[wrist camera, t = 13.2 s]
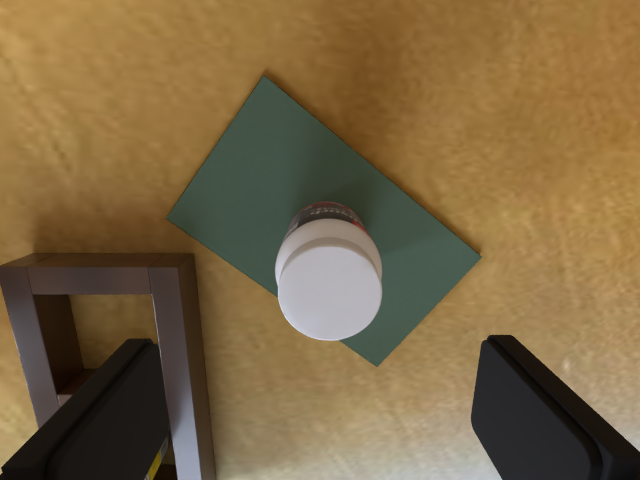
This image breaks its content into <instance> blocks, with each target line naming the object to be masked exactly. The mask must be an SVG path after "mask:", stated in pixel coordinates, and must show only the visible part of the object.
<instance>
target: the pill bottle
mask: <svg viewBox="0 0 640 480" xmlns="http://www.w3.org/2000/svg"><path fill="white" fill-rule="evenodd" d="M275 276H276V282H277V285H278V299H279V304H280V308H281V310H282V312H283V314H284V316H285V317H286V319H287V320H288V322H289V323H290V324H291V325H292V326H293V327H294V328H296V329H297V330H298V331H300V332H301V333H303V334H305V335H307V336H309V337H312V338H315V339H319V340H329V341H332V340H341V339H345V338H348V337H351V336H353V335H355V334H357V333H359V332H360V331H362V330H363V329H364V328H365V327H367V326H368V325H369V324H370V323H371V321H372V320H373V319H374V317H375V316H376V314H377V312H378V310H379V307H380V304H381V300H382V284H381V278H382V263H381V258H380V254H379V252H378V249H377V247H376V245H375V243H374V242H373V240H372V238H371V237H370V235H369V234H368V232H367V230H366V228H365V227H364V225H363V223H362V221H361V220H360V218H359V217H358V216H357V215H356V214H355V213H354V212H353V211H352V210H351V209H349V208H348V207H346V206H344V205H342V204H339V203H336V202H328V201H325V202H318V203H314V204H311V205H309V206H307V207H305V208H304V209H302V210H301V211H300V212H299V213H298V214H297V215H296V216H295V217H294V218H293V220H292V221H291V223H290V225H289V227H288V230H287V233H286V235H285V238H284V240H283V242H282V245H281V247H280V250H279V252H278V255H277V259H276V265H275Z"/></svg>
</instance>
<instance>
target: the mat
mask: <svg viewBox="0 0 640 480" xmlns="http://www.w3.org/2000/svg"><path fill="white" fill-rule="evenodd" d="M325 201H328V202H336V203H339V204H342V205H344V206H346V207H348V208H349V209H351V210H352V211H353V212H354V213H355V214H356V215H357V216H358V217H359V218H360V220H361V221H362V223H363V225H364V227H365V228H366V230H367V232H368V234H369V235H370V237H371V238H372V240H373V242H374V243H375V245H376V247H377V249H378V252H379V254H380V258H381V263H382V278H381V284H382V300H381V304H380V307H379V310H378V312H377V314H376V316H375V317H374V319H373V320H372V321H371V323H370V324H369V325H368V326H367V327H365V328H364V329H363V330H362V331H360V332H359V333H357V334H355V335H353V336H351V337H348V338H345V339H341V340H339V341H341V342H342V343H344V344H345V345H347V346H348V347H349V348H351V349H352V350H354V351H355V352H356V353H358V354H359V355H361V356H362V357H364V358H365V359H366V360H368V361H369V362H371V363H372V364H374V365H375V366H376V367H378V366H379V364H380V363H381V362H382V361H383V360H384V359H385V358H386V357H387V356H388V355H389V354H390V353H391V352H392V351H393V350H394V349H395V348H396V347H397V346H398V345H399V344H400V342H401V341H402V340H403V339H404V338H405V337H406V336H407V335H408V334H409V333H410V332H411V331H412V330H413V329H414V328H415V327H416V326H417V325H418V324H419V323H420V322H421V321H422V319H423V318H424V317H425V316H426V315H427V314H428V313H429V312H430V311H431V310H432V309H433V308H434V307H435V306H436V305H437V304H438V303H439V302H440V301H441V300H442V299H443V297H444V296H445V295H446V294H447V293H448V292H449V291H450V290H451V289H452V288H453V287H454V286H455V285H456V284H457V283H458V282H459V281H460V280H461V279H462V278H463V277H464V276H465V274H466V273H467V272H468V271H469V270H470V269H471V268H472V267H473V266H474V265H475V264H476V263H477V262H478V261H479V260H480V259H481V258H482V256H480V255H479V254H478V253H477V252H476V251H474V250H473V249H472V248H471V247H470V246H468V245H467V244H466V243H465V242H464V241H462V240H461V239H460V238H459V237H458V236H456V235H455V234H454V233H453V232H452V231H450V230H449V229H448V228H447V227H446V226H444V225H443V224H442V223H441V222H440V221H438V220H437V219H436V218H435V217H434V216H432V215H431V214H430V213H429V212H428V211H426V210H425V209H424V208H423V207H422V206H420V205H419V204H418V203H417V202H416V201H414V200H413V199H412V198H411V197H410V196H408V195H407V194H406V193H405V192H404V191H402V190H401V189H400V188H399V187H398V186H396V185H395V184H394V183H393V182H392V181H390V180H389V179H388V178H387V177H386V176H384V175H383V174H382V173H381V172H380V171H378V170H377V169H376V168H375V167H374V166H372V165H371V164H370V163H369V162H368V161H366V160H365V159H364V158H363V157H362V156H360V155H359V154H358V153H357V152H356V151H354V150H353V149H352V148H351V147H350V146H348V145H347V144H346V143H345V142H344V141H342V140H341V139H340V138H339V137H338V136H337V135H335V134H334V133H333V132H332V131H331V130H329V129H328V128H327V127H326V126H325V125H323V124H322V123H321V122H320V121H319V120H317V119H316V118H315V117H314V116H313V115H311V114H310V113H309V112H308V111H307V110H305V109H304V108H303V107H302V106H301V105H299V104H298V103H297V102H296V101H295V100H293V99H292V98H291V97H290V96H289V95H287V94H286V93H285V92H284V91H283V90H281V89H280V88H279V87H278V86H277V85H275V84H274V83H273V82H272V81H271V80H269V79H268V78H267V77H266V76H265V75H264V76H263V77H262V79H261V80H260V81H259V83H258V84H257V86H256V87H255V89H254V90H253V92H252V93H251V95H250V96H249V98H248V99H247V101H246V102H245V103H244V105H243V106H242V108H241V109H240V111H239V112H238V114H237V115H236V117H235V118H234V120H233V121H232V123H231V124H230V125H229V127H228V128H227V130H226V131H225V133H224V134H223V136H222V137H221V139H220V140H219V142H218V143H217V145H216V146H215V148H214V149H213V150H212V152H211V153H210V155H209V156H208V158H207V159H206V161H205V162H204V164H203V165H202V167H201V168H200V170H199V171H198V172H197V174H196V175H195V177H194V178H193V180H192V181H191V183H190V184H189V186H188V187H187V189H186V190H185V192H184V193H183V194H182V196H181V197H180V199H179V200H178V202H177V203H176V205H175V206H174V208H173V209H172V211H171V212H170V214H169V215H168V216H167V218H166V219H167V220H169V221H170V222H172V223H173V224H174V225H176V226H177V227H179V228H180V229H181V230H183V231H184V232H186V233H187V234H189V235H190V236H191V237H193V238H194V239H196V240H197V241H199V242H200V243H201V244H203V245H204V246H206V247H207V248H208V249H210V250H211V251H213V252H214V253H216V254H217V255H218V256H220V257H221V258H223V259H224V260H226V261H227V262H228V263H230V264H231V265H233V266H234V267H236V268H237V269H238V270H240V271H241V272H243V273H244V274H245V275H247V276H248V277H250V278H251V279H253V280H254V281H255V282H257V283H258V284H260V285H261V286H263V287H264V288H265V289H267V290H268V291H270V292H271V293H273V294H274V295H275V296H277V297H278V285H277V282H276V276H275V265H276V259H277V255H278V252H279V250H280V247H281V245H282V242H283V240H284V238H285V235H286V233H287V230H288V227H289V225H290V223H291V221H292V220H293V218H294V217H295V216H296V215H297V214H298V213H299V212H300V211H301V210H302V209H304V208H305V207H307V206H309V205H311V204H314V203H318V202H325Z"/></svg>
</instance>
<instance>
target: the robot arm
mask: <svg viewBox="0 0 640 480" xmlns="http://www.w3.org/2000/svg"><path fill="white" fill-rule="evenodd" d="M471 423H472V427H473V429H474V432H475V433H476V435H477V437H478V438H479V440H480V442H481V444H482V445H483V447H484V449H485V450H486V452H487V454H488V456H489V457H490V459H491V461H492V462H493V464H494V466H495V468H496V469H497V471H498V473H499V474H500V476H501V478H502V480H640V452H639V451H638V450H637V449H636V448H635V447H634V446H633V445H632V444H631V443H629V442H628V441H627V440H626V439H625V438H624V437H623V436H622V435H621V434H620V433H618V432H617V431H616V430H615V429H614V428H613V427H612V426H611V425H610V424H609V423H608V422H606V421H605V420H604V419H603V418H602V417H601V416H600V415H599V414H598V413H597V412H596V411H594V410H593V409H592V408H591V407H590V406H589V405H588V404H587V403H586V402H585V401H583V400H582V399H581V398H580V397H579V396H578V395H577V394H576V393H575V392H574V391H573V390H571V389H570V388H569V387H568V386H567V385H566V384H565V383H564V382H563V381H562V380H560V379H559V378H558V377H557V376H556V375H555V374H554V373H553V372H552V371H551V370H550V369H548V368H547V367H546V366H545V365H544V364H543V363H542V362H541V361H540V360H539V359H538V358H536V357H535V356H534V355H533V354H532V353H531V352H530V351H529V350H528V349H527V348H525V347H524V346H523V345H522V344H521V343H520V342H519V341H518V340H517V339H516V338H515V337H513V336H512V335H490V336H488V338H487V340H484V341H483V342H482V344H481V350H480V357H479V364H478V371H477V378H476V385H475V392H474V399H473V406H472V413H471ZM168 429H169V416H168V409H167V401H166V394H165V387H164V379H163V372H162V365H161V357H160V350H159V346H158V344H153V341H152V340H151V339H128V340H126V341H125V342H124V343H123V344H122V345H121V346H120V347H119V348H118V349H117V350H116V351H115V352H114V353H113V354H112V355H111V356H110V357H109V358H108V360H107V361H106V362H105V363H104V364H103V365H102V366H101V367H100V368H99V369H98V370H97V371H96V372H95V373H94V374H93V375H92V376H91V377H90V378H89V379H88V380H87V381H86V382H85V383H84V384H83V385H82V386H81V387H80V388H79V389H78V390H77V391H76V392H75V393H74V394H73V395H72V396H71V397H70V398H69V399H68V400H67V401H66V402H65V403H64V404H63V405H62V406H61V407H60V408H59V409H58V410H57V411H56V412H55V413H54V414H53V415H52V417H51V418H50V419H49V420H48V421H47V422H46V423H45V424H44V425H43V426H42V427H41V428H40V429H39V430H38V431H37V432H36V433H35V434H34V435H33V436H32V437H31V438H30V439H29V440H28V441H27V442H26V443H25V444H24V445H23V446H22V447H21V448H20V449H19V450H18V451H17V452H16V453H15V454H14V455H13V456H12V457H11V458H10V459H9V460H8V461H7V462H6V463H5V464H4V465H3V466H2V467H1V469H2V472H3V473H2V474H1V475H0V480H144V479H145V477H146V475H147V473H148V471H149V469H150V468H151V466H152V464H153V462H154V460H155V458H156V456H157V454H158V452H159V450H160V448H161V446H162V444H163V442H164V440H165V438H166V436H167V433H168Z"/></svg>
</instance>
